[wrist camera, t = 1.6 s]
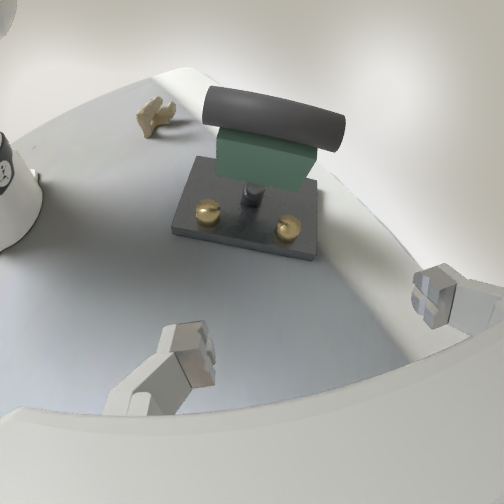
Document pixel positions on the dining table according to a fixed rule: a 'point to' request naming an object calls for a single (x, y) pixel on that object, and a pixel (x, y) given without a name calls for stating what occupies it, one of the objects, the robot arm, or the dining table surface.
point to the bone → (154, 115)
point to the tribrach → (247, 213)
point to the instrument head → (268, 136)
